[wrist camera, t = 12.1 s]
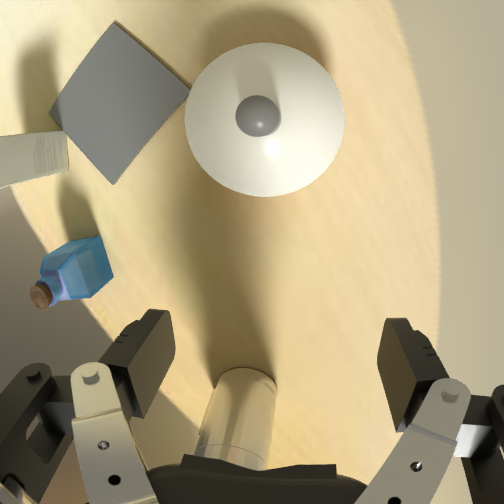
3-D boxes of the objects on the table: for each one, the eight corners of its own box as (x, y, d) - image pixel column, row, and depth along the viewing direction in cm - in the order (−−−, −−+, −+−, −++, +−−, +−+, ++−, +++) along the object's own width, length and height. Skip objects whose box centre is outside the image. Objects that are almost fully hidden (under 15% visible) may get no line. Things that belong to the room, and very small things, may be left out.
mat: (114, 184, 37) (112, 184, 37) (51, 113, 35) (48, 113, 34) (192, 91, 32) (191, 90, 32) (115, 23, 30) (113, 22, 29)
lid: (262, 222, 31) (254, 242, 26) (162, 121, 29) (135, 121, 24) (372, 126, 26) (389, 125, 21) (266, 20, 24) (258, -3, 19)
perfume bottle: (100, 235, 40) (45, 271, 29) (113, 277, 43) (65, 321, 32) (69, 241, 42) (14, 275, 31) (82, 280, 44) (33, 320, 33)
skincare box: (33, 177, 39) (-43, 203, 25) (29, 137, 37) (-49, 153, 23) (72, 169, 38) (-10, 195, 24) (68, 126, 35) (-17, 137, 22)
